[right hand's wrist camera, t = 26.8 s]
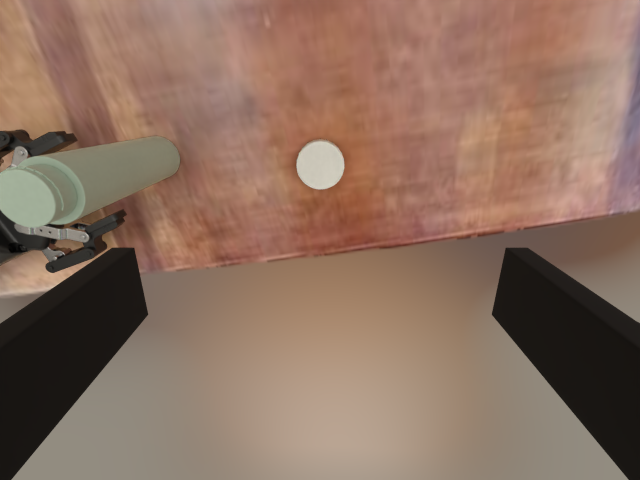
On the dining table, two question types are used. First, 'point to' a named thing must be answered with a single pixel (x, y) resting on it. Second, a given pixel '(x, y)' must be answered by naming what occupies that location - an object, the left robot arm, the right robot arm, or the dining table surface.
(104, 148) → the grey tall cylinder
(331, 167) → the lid
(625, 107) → the dining table surface
